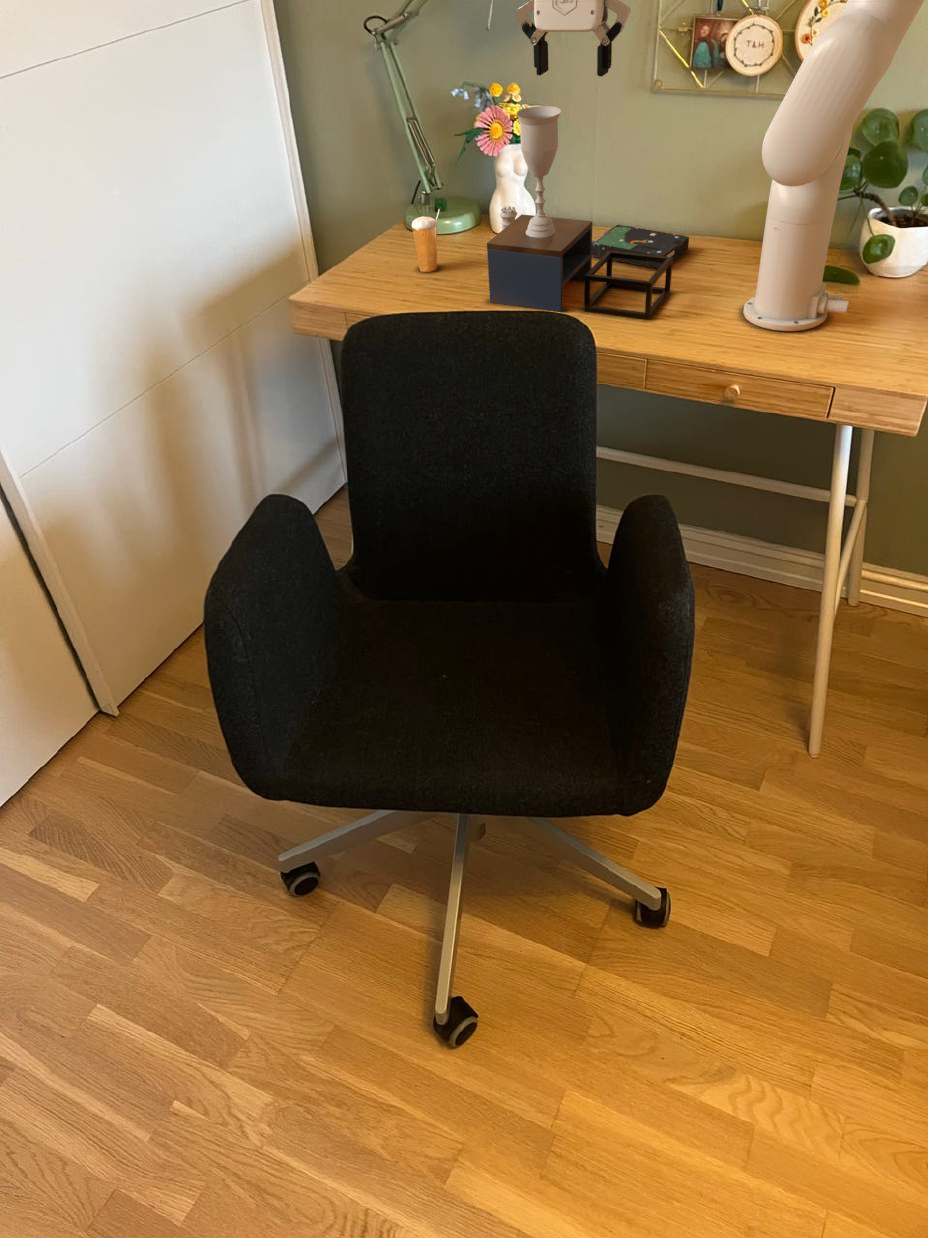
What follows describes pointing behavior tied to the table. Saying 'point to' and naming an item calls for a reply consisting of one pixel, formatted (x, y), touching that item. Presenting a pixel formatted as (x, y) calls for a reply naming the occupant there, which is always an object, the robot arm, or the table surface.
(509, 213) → the rook chess piece
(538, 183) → the chalice
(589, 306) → the cup rack
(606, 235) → the disk drive
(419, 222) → the milkshake
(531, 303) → the shelf
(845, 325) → the table surface
